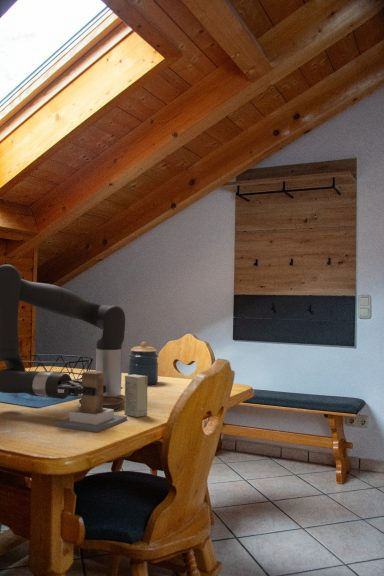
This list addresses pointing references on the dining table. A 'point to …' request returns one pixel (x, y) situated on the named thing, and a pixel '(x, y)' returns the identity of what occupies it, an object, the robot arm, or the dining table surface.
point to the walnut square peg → (96, 402)
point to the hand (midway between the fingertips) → (100, 390)
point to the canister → (144, 363)
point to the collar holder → (91, 420)
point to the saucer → (111, 402)
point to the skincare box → (136, 395)
